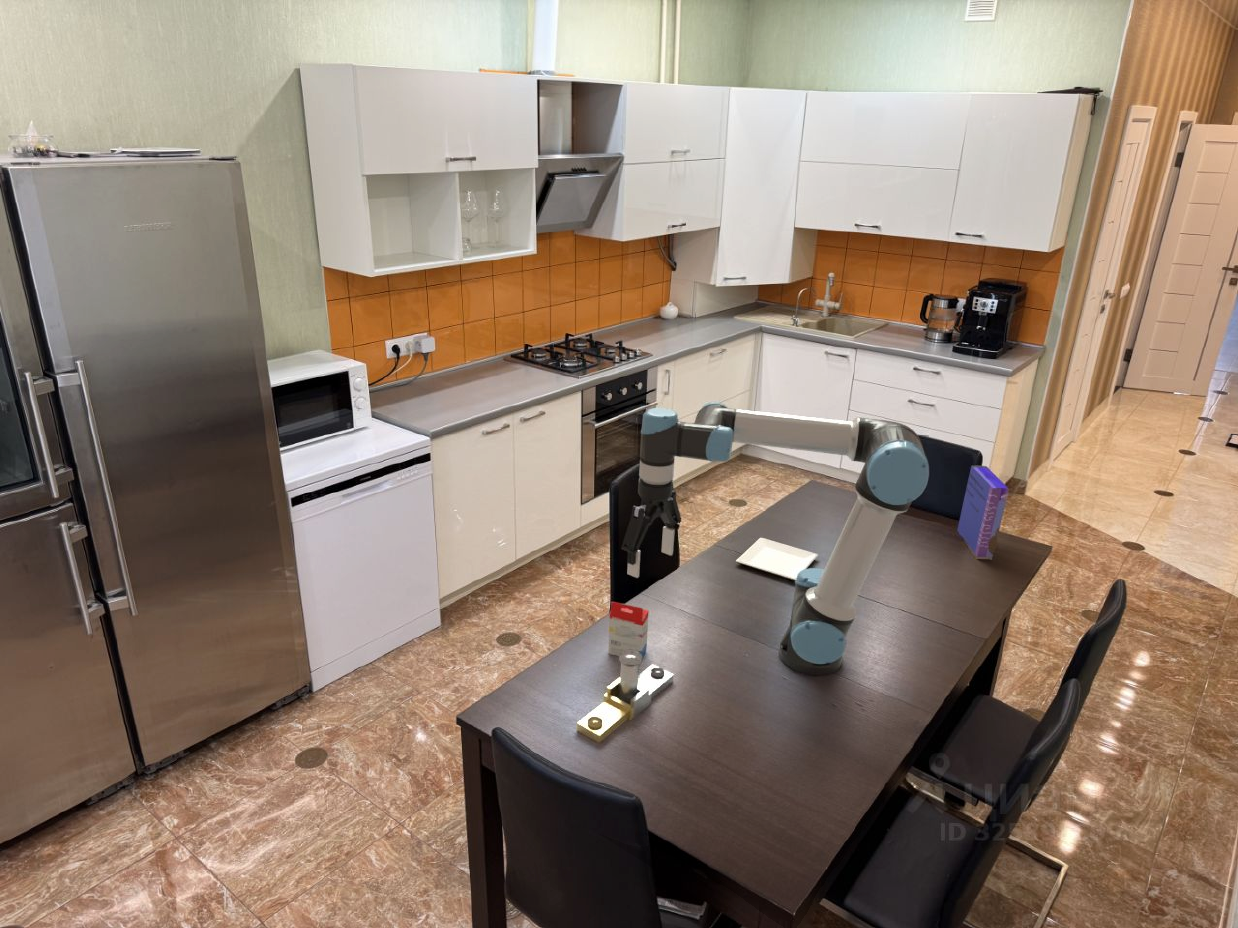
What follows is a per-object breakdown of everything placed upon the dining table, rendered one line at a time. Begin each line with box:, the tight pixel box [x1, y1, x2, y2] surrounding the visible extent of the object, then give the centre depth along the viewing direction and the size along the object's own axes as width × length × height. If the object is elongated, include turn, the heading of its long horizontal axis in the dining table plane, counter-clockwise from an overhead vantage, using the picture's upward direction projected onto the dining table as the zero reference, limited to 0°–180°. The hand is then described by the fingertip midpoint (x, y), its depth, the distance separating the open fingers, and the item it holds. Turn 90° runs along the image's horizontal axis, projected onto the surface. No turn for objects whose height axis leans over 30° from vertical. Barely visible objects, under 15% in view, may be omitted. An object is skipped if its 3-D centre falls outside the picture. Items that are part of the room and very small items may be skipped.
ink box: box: [607, 601, 649, 659], centre depth 207 cm, size 8×5×15 cm, turn 71°
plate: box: [735, 537, 819, 582], centre depth 256 cm, size 19×19×2 cm
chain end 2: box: [630, 663, 675, 719], centre depth 195 cm, size 8×16×4 cm, turn 143°
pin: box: [618, 649, 643, 705], centre depth 189 cm, size 5×5×13 cm
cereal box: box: [956, 464, 1010, 558], centre depth 267 cm, size 17×5×24 cm, turn 179°
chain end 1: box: [576, 677, 635, 744], centre depth 187 cm, size 8×16×4 cm, turn 143°
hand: (650, 564), depth 197 cm, fingers open, 13 cm apart
